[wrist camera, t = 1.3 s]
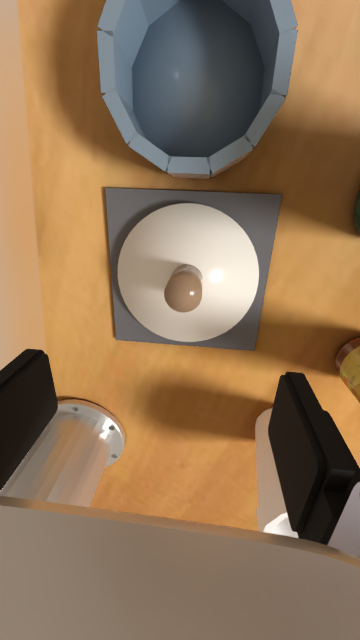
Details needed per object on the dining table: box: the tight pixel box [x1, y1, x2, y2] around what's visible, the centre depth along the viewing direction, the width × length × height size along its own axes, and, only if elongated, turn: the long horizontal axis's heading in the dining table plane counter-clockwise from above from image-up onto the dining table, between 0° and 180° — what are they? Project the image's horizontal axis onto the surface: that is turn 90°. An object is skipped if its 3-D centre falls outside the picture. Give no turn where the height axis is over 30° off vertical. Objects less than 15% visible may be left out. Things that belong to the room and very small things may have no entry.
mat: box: [105, 188, 282, 351], centre depth 28 cm, size 16×16×1 cm
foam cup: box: [255, 408, 298, 538], centre depth 29 cm, size 10×9×13 cm
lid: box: [118, 203, 259, 342], centre depth 25 cm, size 14×14×6 cm
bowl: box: [97, 0, 298, 179], centre depth 19 cm, size 12×12×6 cm
